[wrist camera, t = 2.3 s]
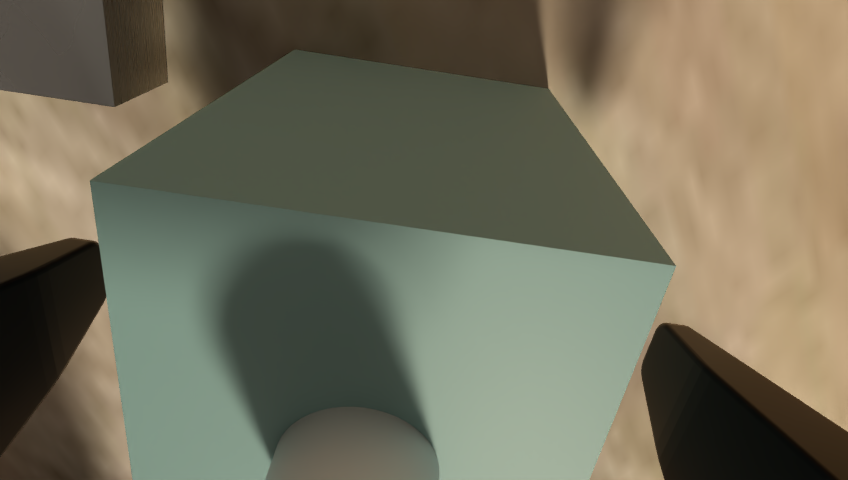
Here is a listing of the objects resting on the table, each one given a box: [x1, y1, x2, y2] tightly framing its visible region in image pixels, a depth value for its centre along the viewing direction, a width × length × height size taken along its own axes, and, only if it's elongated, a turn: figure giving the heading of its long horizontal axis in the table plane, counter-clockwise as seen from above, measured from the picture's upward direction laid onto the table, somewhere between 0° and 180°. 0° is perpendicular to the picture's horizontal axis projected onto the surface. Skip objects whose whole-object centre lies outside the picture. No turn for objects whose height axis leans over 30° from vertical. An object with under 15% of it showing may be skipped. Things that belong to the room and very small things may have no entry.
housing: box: [90, 50, 676, 480], centre depth 8 cm, size 6×5×9 cm
